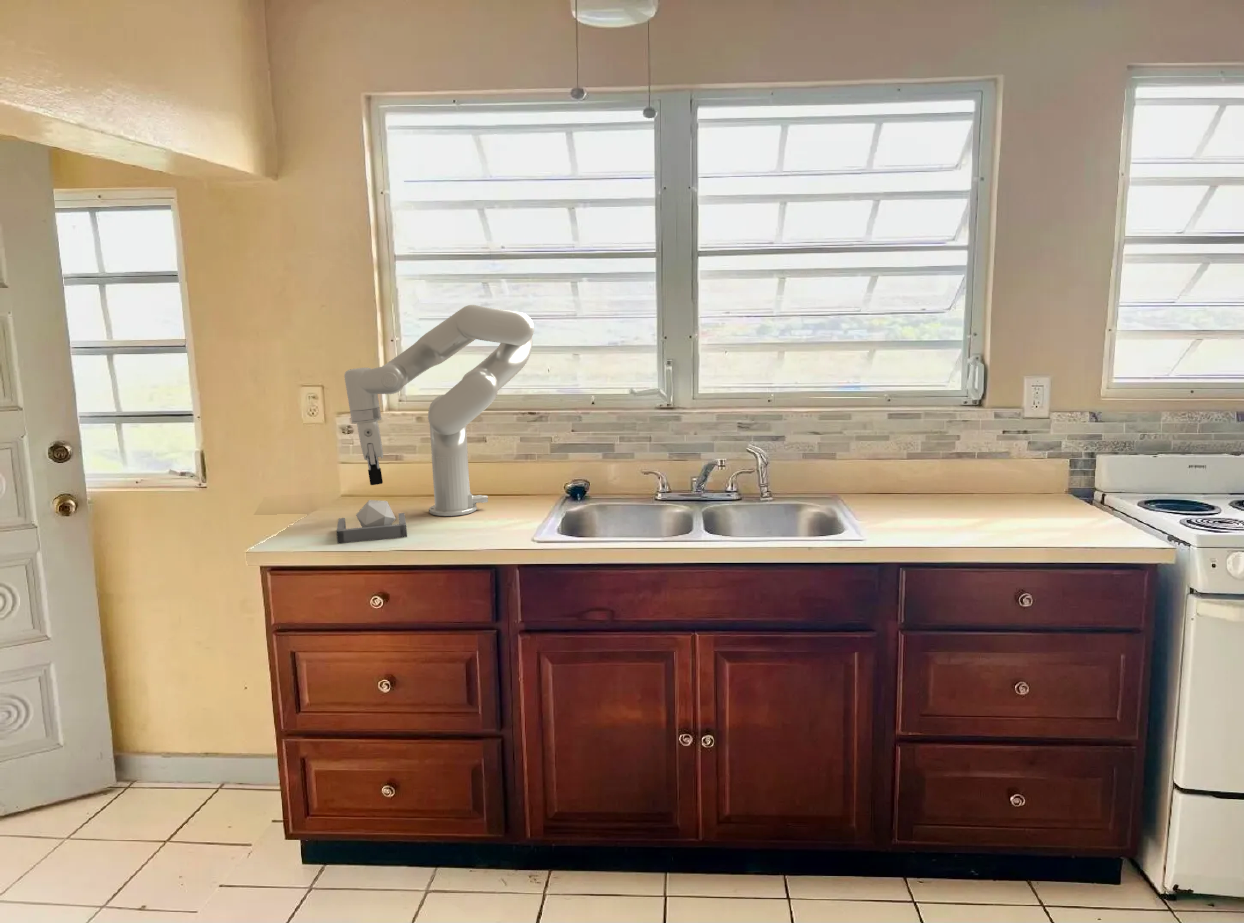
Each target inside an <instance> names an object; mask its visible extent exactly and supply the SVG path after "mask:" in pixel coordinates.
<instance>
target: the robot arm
mask: <svg viewBox="0 0 1244 923" xmlns="http://www.w3.org/2000/svg"><path fill="white" fill-rule="evenodd" d="M534 332H535V324H534V322H533V320H532V318H531V317H530V316H529V315H527V313H525V312H521V311H515V310H506V309H499V308H494V307H493V308H492V307H488V306H487V307H486V306H482V305H477V304H469V305H465V306H464V307H462V308H459V310H457V311H456V312H455V313H453V314H452V315H450V316H449V317H447V318H446V319H445V320H443V321H442V322H440V323H439V324H438V325H436V326H435V327H433V328H431V329H430V330H429V331H428V332H425V333H424V334H423V335H422V336H421V337H420V338H419V339H418V340H417V341H415V343H413V344H411V346H409V347H408V348H406V349H405V350H403V351H402V352H401V353H399V354H398V355H396V356H395V357H394V358H392V359H390V361H388V362H386V363H385V364H384V365H382V366H379V367H374V368H371V367H358V368H352V369H348V370H346V371H345V372H344V376H343V377H344V383H345V389H346V390H345V391H346V396H347V402H348V406H349V414H350V419H351V420H350V421H351V424H356V426H357V432H358V438H359V442H360V449H361V452H362V456H363V459H364V460H365V461H366V462H367V467H368V469H367V471H368V479H369V484H370V486H376V485H382V484H383V483H384V482H383V475H382V468H381V467H380V462H379V458H380V459H383V458H384V450H383V444H382V437H381V430H380V424H379V422H378V421H381V420H382V413H381V406H380V401H379V395H394V394H397V393H399V392H400V391H401V390H402V389H403V388H404V387H405V386H406V385H407V384H409V383H410V382H412V381H414V380H415V379H416V378H417V377H419V376H420V375H422V374H423V373H425V372H426V371H427V370H429V369H431V368H433V367H435V366H439V365H440V364H443V363H444V362H446V361H447V360H449V359H450V358H452V356H454V355H455V354H456V353H458V352H460V351H461V350H462V349H464V348H465V347H467V346H468V345H470V344H471V343H473V342H474V341H476V340H478V341H484V342H492V343H497V344H498V343H499V345H498V346H497V347H496V349H495V350H493V351H492V352H491V353H490V354H489V355H488V356H487V357H486V358H485V359H484V360H483V361H481V362H480V363H479V364H477V365H476V366H475V367H474V368H472V369H471V370H469V371H468V372H466V373H465V374H464V375H463V377H462V378H461V380H460V381H459V382H457V384H455V385H454V386H452V388H450V389H449V390H448V391H447V392H446V393H445V394H441V395H439V396H437V397H435V398H434V399H433V400H432V401H431V403H430V404H429V407H428V413H427V419H428V423H429V431H430V432H429V433H430V450H431V464H432V468H431V470H432V480H433V483H432V484H433V498H434V505H431V506H430V507H429V513H430V514H431V515H433V516H438V517H455V516H463V515H468V514H471V513H474V512H476V510H477V508H478V506H477V504H479V503H482V504H483V503H488V502H489V499H488V498H489V496H488V494H487V495H483V494H478V495H477V494H476V495H475V494H473V493H472V492H471V488H470V486H471V485H470V471H469V470H470V469H469V456H468V454H469V451H468V436H467V435H468V434H467V433H468V432H467V426H468V424H470V423H471V422H473V420H474V419H476V418H477V417H478V416H480V415H481V414H482V413H483V412H484V411H485V410H487V408H488V407H489V406H491V405H492V403H494V401H495V400H496V398H497V395H498V392H499V391H500V390H501V389H502V388H503V387H504V386H505V385H506V384H508V383H509V382H510V381H511V380H512V379H513V378H514V377H515V376H516V375H517V374H518V373H519V372H520V371H521V370H523V368H525V366H526V364H527V363H528V361H529V358H530V356H531V353H532V348H533V335H534V334H535V333H534Z"/></svg>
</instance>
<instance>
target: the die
mask: <svg viewBox="0 0 1244 923" xmlns="http://www.w3.org/2000/svg"><path fill="white" fill-rule="evenodd" d="M355 516H356V518H357V520H358V523H359V524H360V526H361V528H362V527H372V526H383V525H393V523H394V522H395V520H396V517H395V514H394V512H393V510H392V508H391V506H390V505H389V502H388V501H387V500H379V499H378V500H375V499H369V500H367V502H366V503H365V504H364V505H363V506H362V508H360V510H359V511H358V512H357V513H356V514H355Z"/></svg>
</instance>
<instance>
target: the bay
mask: <svg viewBox="0 0 1244 923" xmlns="http://www.w3.org/2000/svg"><path fill="white" fill-rule="evenodd" d="M346 525H347V524H346V518H345V517H342V518H338V519H337V527H336V531H335V532H336V539H337V540H336V542H337V544H346V543H358V542H359V543H360V542H368V541H379V540H388V539H389V540H390V539H401V538H407V537H408V533H407V532H408V531H407V530H408V529H407V521H406V514H405V512H399V513H398V524H397V523H395V524H391V525H383V526H372V527H362V526H361V527H351V528H346Z"/></svg>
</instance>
